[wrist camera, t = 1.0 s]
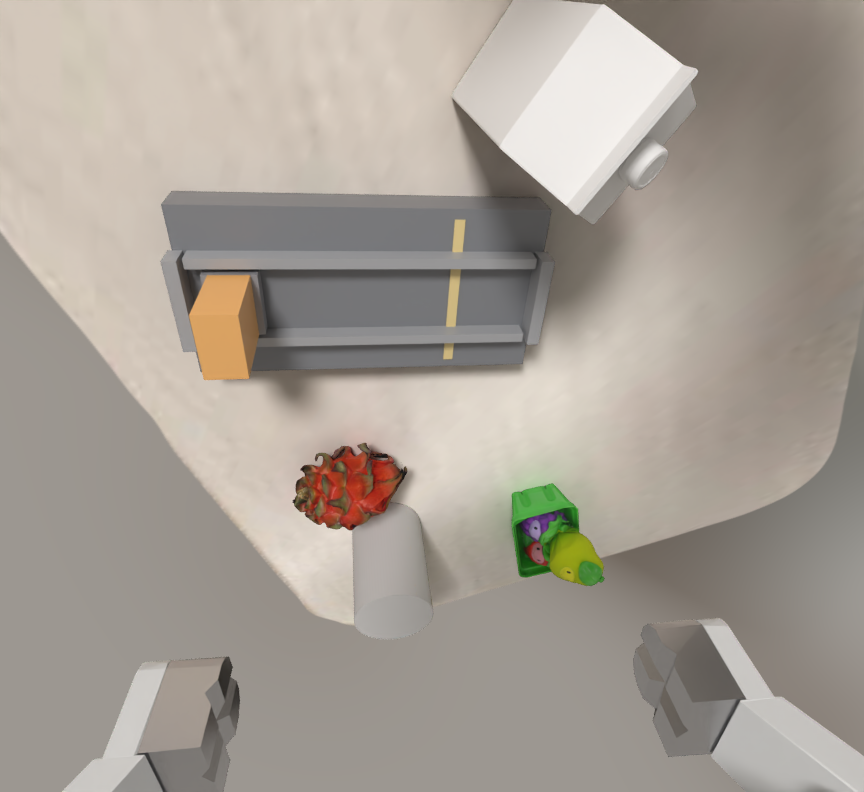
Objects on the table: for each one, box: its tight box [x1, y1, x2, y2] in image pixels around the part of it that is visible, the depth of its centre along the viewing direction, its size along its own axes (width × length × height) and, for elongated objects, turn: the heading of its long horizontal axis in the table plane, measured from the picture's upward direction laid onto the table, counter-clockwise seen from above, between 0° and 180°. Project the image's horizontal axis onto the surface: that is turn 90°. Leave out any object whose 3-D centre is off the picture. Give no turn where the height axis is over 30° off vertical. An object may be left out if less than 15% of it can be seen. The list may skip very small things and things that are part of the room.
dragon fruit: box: [293, 443, 407, 530], centre depth 56 cm, size 8×8×12 cm
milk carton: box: [452, 0, 698, 225], centre depth 31 cm, size 7×7×19 cm
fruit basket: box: [512, 484, 604, 586], centre depth 63 cm, size 11×9×11 cm
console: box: [161, 191, 555, 372], centre depth 44 cm, size 14×29×5 cm, turn 87°
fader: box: [189, 269, 268, 380], centre depth 39 cm, size 5×4×7 cm
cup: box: [352, 503, 433, 639], centre depth 61 cm, size 8×8×12 cm
